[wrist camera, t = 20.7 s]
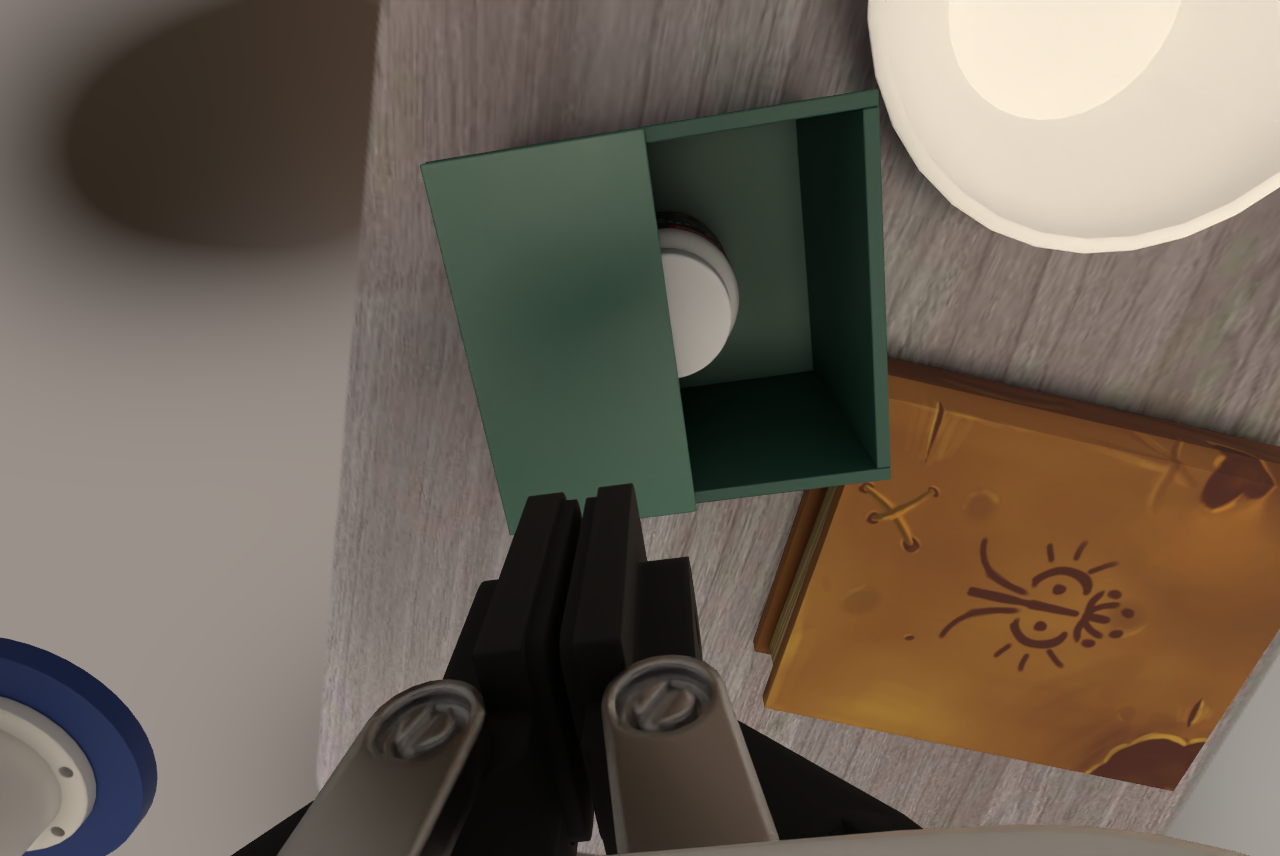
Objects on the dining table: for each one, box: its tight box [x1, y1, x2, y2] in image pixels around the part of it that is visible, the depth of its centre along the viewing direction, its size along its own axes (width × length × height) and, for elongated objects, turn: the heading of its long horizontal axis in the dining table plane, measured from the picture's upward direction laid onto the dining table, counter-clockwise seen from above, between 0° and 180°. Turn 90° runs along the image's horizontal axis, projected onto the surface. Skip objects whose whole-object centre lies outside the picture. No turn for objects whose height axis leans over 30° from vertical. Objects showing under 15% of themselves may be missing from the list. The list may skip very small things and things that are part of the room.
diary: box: [753, 357, 1280, 791], centre depth 39 cm, size 23×19×6 cm
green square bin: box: [425, 89, 891, 503], centre depth 31 cm, size 14×13×12 cm
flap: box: [420, 128, 697, 535], centre depth 25 cm, size 7×13×1 cm, turn 9°
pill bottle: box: [656, 212, 739, 378], centre depth 32 cm, size 6×6×10 cm
